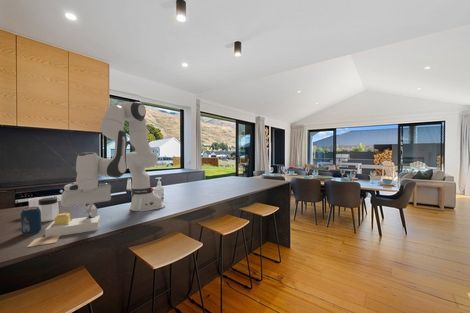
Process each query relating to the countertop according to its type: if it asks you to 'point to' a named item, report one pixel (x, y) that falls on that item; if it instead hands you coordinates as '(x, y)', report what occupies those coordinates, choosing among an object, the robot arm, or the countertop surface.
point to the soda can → (30, 220)
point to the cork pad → (44, 241)
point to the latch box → (73, 226)
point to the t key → (93, 211)
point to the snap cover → (62, 218)
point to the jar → (48, 208)
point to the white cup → (34, 201)
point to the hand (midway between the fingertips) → (87, 212)
